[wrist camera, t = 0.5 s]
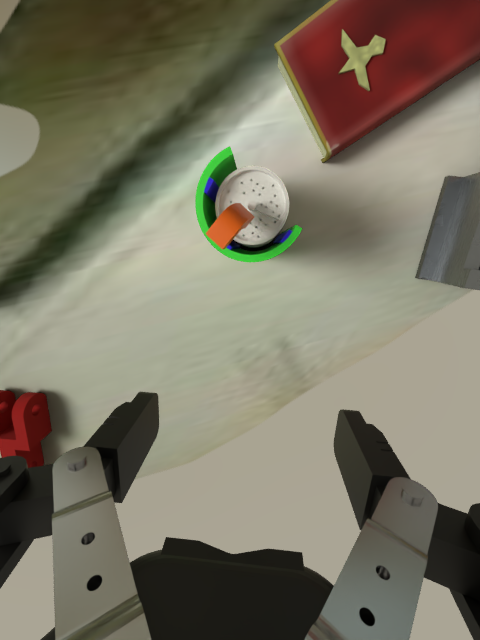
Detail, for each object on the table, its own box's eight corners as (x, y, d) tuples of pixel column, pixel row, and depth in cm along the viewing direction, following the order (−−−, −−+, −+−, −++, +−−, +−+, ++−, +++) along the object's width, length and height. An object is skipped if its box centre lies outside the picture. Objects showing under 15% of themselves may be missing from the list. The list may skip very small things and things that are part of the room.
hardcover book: (499, 48, 31) (535, 19, 27) (322, 165, 35) (330, 155, 31) (456, -73, 29) (488, -125, 25) (272, 67, 33) (274, 42, 29)
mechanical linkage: (3, 384, 46) (-27, 400, 42) (45, 387, 46) (20, 404, 41) (20, 465, 51) (-5, 489, 46) (59, 469, 50) (37, 493, 45)
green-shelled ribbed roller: (299, 214, 36) (334, 190, 19) (264, 269, 38) (267, 292, 21) (237, 174, 36) (215, 110, 18) (205, 231, 38) (158, 224, 20)
